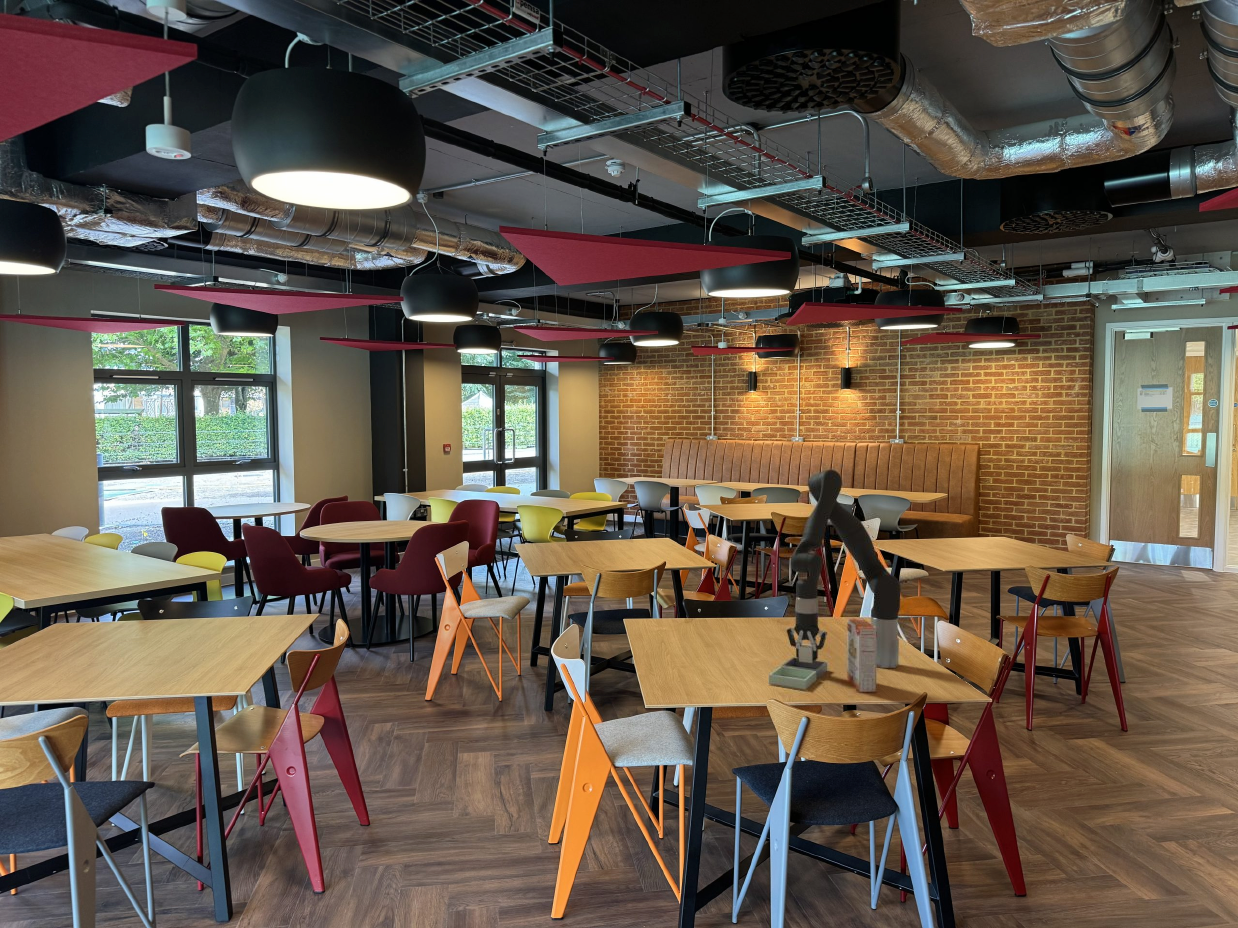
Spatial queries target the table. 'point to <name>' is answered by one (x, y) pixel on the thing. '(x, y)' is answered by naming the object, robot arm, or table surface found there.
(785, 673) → the bin
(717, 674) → the table surface
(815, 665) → the bin
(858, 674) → the cracker box
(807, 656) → the light grey block
